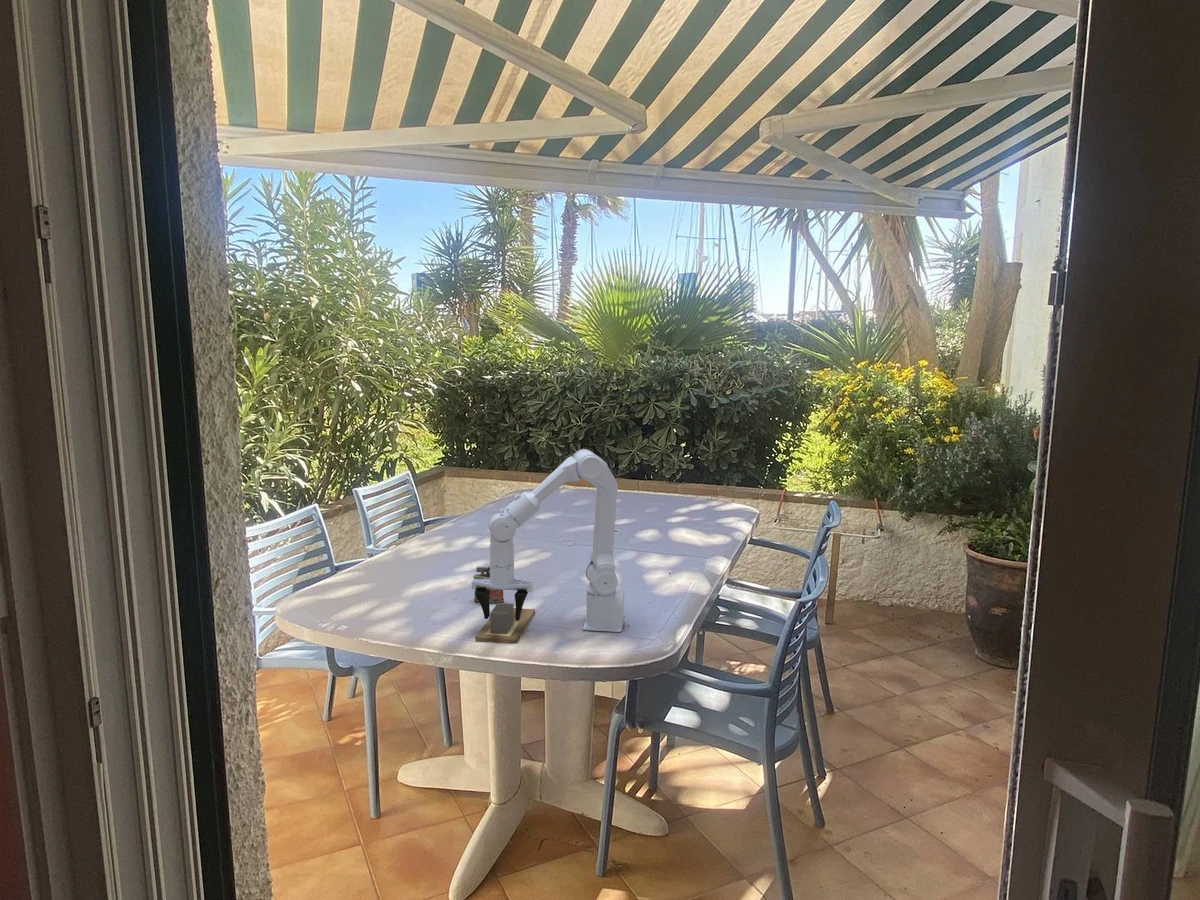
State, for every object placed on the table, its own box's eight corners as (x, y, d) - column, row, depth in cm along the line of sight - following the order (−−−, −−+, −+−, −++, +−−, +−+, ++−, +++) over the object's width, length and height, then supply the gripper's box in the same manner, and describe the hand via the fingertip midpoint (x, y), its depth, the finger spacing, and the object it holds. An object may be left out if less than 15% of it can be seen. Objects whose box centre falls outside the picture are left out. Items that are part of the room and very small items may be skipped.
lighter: (504, 600, 198) (504, 564, 197) (503, 604, 195) (503, 568, 194) (475, 600, 198) (474, 564, 197) (473, 604, 195) (472, 568, 193)
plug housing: (513, 623, 179) (513, 603, 178) (506, 634, 172) (506, 613, 171) (497, 622, 179) (497, 602, 178) (490, 633, 172) (490, 613, 172)
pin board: (535, 612, 189) (535, 601, 189) (516, 643, 169) (516, 630, 169) (497, 610, 190) (497, 599, 190) (475, 641, 171) (475, 628, 170)
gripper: (535, 560, 176) (535, 613, 178) (477, 557, 178) (478, 610, 180) (528, 569, 170) (529, 624, 171) (468, 566, 171) (469, 621, 173)
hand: (502, 618), depth 175 cm, fingers open, 7 cm apart
